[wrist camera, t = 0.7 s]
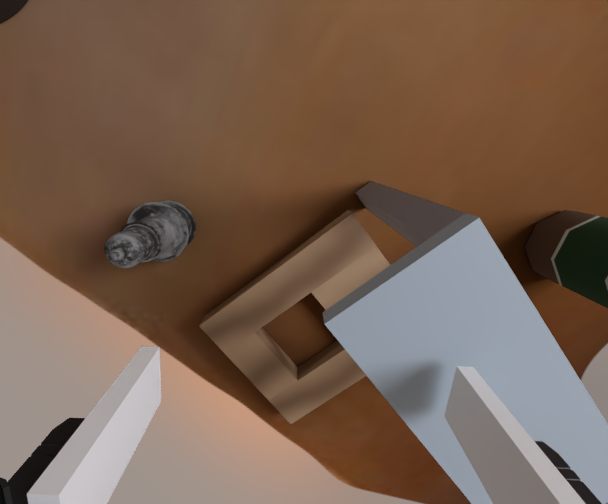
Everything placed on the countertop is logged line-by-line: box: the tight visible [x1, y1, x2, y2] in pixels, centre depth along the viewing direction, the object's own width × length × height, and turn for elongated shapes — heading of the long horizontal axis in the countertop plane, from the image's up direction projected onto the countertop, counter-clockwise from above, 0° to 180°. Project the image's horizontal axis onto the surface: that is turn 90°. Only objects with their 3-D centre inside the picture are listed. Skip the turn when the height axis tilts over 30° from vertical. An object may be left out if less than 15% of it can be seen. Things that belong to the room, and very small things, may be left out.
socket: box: [199, 209, 390, 424], centre depth 38 cm, size 16×20×3 cm
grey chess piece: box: [104, 200, 196, 268], centre depth 31 cm, size 6×6×12 cm
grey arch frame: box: [323, 181, 608, 504], centre depth 28 cm, size 18×8×22 cm, turn 37°
